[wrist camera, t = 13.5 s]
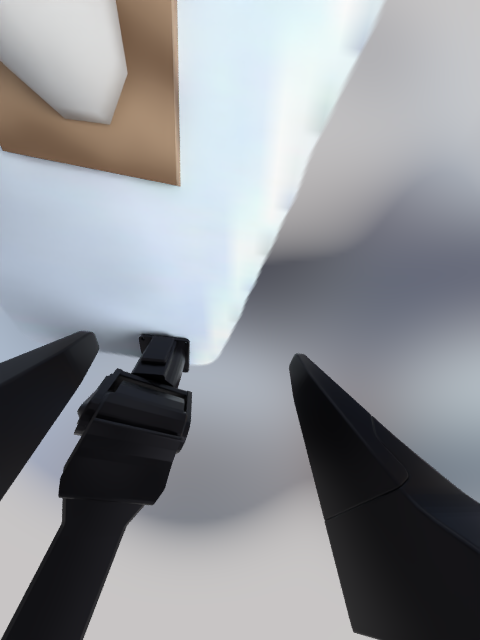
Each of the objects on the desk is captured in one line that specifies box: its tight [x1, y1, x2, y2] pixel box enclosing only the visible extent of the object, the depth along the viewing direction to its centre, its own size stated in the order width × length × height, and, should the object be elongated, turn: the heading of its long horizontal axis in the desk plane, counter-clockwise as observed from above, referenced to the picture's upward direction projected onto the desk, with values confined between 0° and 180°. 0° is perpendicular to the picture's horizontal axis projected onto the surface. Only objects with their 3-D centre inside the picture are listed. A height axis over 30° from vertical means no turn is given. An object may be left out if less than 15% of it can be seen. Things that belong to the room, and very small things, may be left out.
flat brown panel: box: [0, 0, 180, 186], centre depth 11 cm, size 12×12×2 cm
